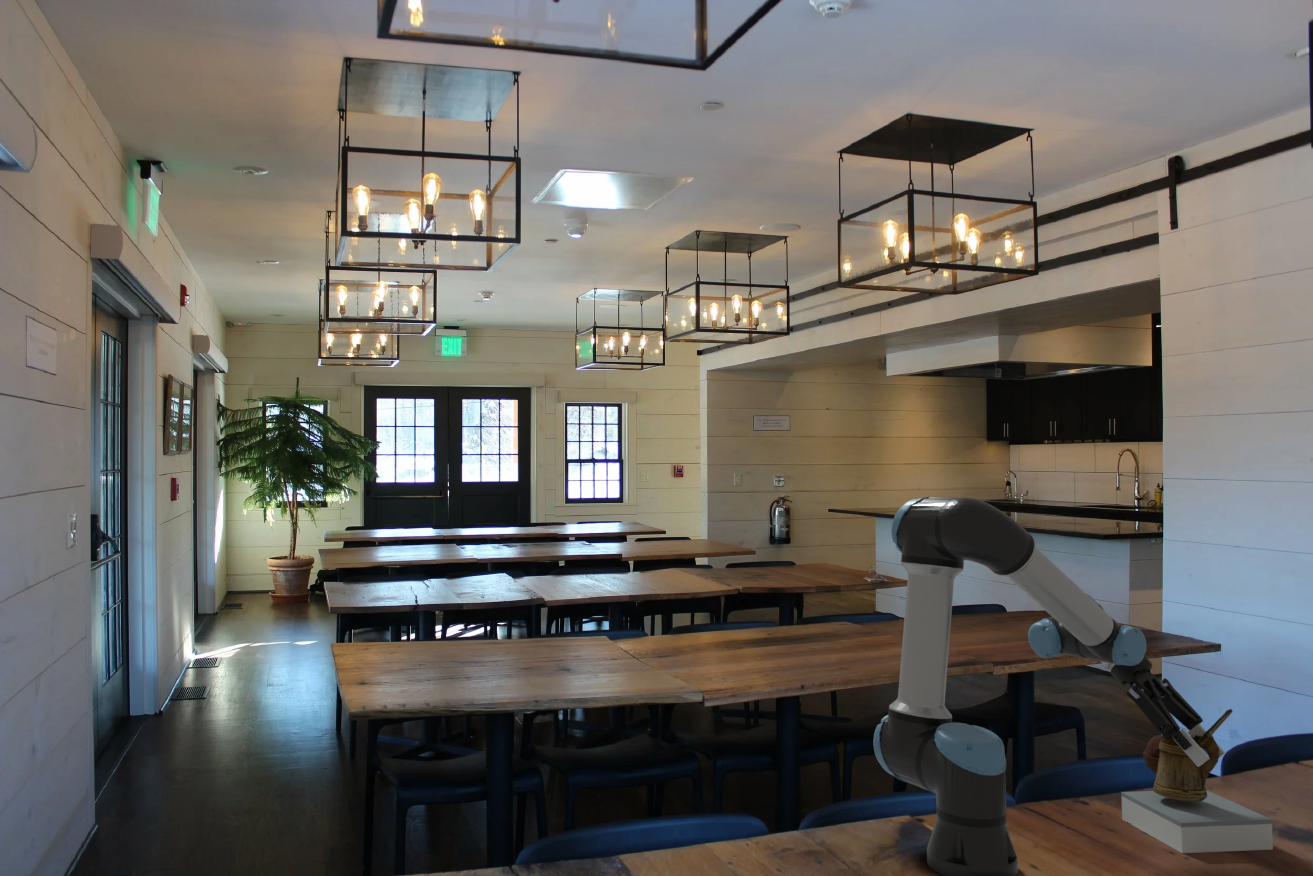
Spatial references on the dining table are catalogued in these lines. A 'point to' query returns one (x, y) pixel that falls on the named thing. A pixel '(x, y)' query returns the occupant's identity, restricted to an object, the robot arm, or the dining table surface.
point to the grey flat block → (1197, 823)
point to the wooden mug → (1186, 767)
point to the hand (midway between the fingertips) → (1211, 759)
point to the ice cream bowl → (1152, 753)
